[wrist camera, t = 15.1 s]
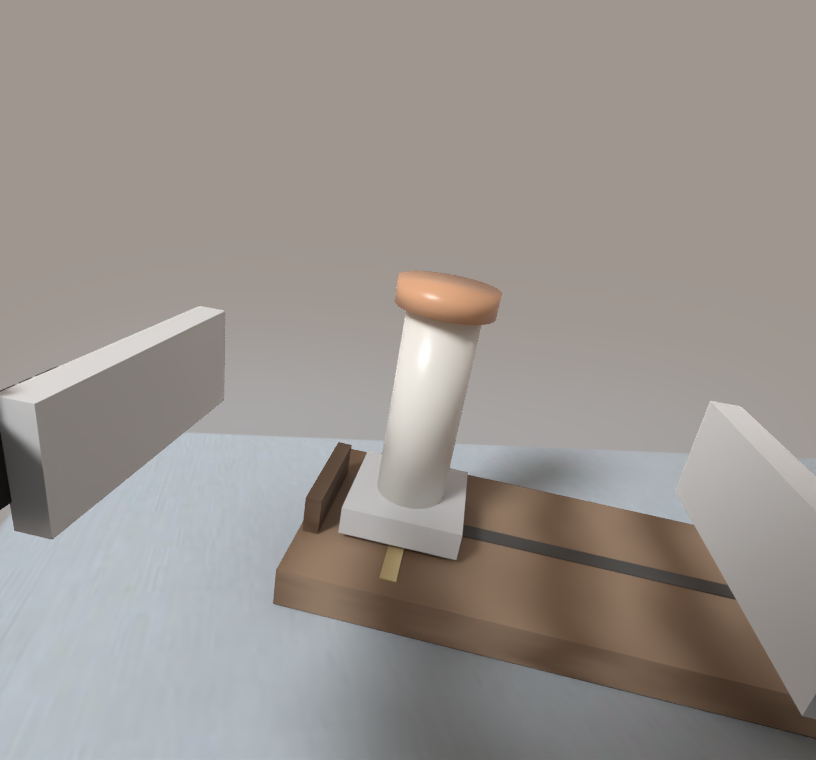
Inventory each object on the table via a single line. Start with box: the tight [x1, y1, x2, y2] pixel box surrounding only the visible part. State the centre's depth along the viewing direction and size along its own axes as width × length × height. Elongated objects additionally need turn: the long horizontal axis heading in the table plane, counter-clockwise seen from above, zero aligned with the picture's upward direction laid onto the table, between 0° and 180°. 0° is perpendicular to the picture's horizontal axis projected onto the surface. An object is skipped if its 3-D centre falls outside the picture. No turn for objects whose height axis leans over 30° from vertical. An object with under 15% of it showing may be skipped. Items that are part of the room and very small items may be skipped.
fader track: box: [273, 442, 816, 738], centre depth 29 cm, size 28×12×4 cm, turn 82°
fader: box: [338, 271, 502, 560], centre depth 27 cm, size 6×6×13 cm
